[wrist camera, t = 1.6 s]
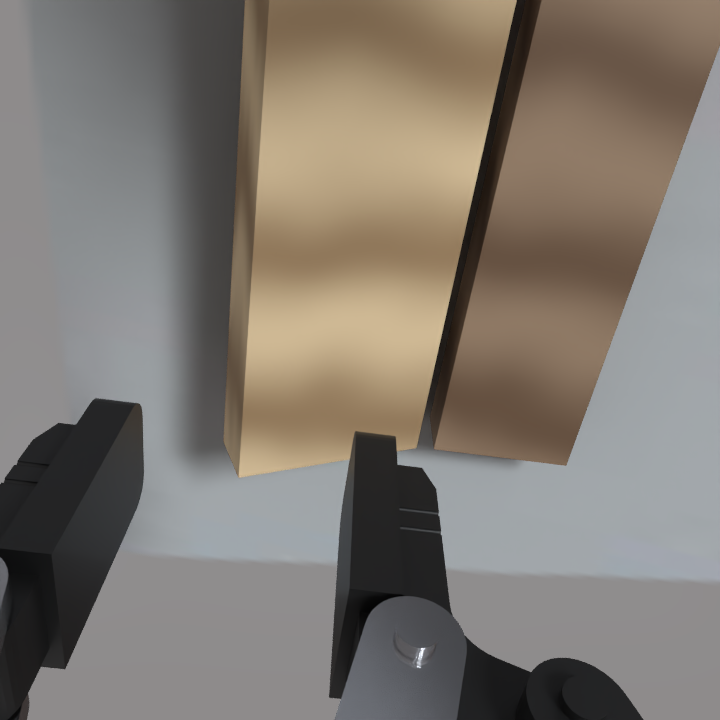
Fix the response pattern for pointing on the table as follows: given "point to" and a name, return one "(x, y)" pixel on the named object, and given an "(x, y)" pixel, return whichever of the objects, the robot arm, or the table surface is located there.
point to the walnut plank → (566, 215)
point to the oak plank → (350, 215)
